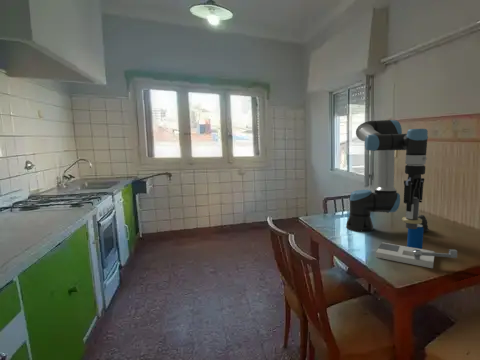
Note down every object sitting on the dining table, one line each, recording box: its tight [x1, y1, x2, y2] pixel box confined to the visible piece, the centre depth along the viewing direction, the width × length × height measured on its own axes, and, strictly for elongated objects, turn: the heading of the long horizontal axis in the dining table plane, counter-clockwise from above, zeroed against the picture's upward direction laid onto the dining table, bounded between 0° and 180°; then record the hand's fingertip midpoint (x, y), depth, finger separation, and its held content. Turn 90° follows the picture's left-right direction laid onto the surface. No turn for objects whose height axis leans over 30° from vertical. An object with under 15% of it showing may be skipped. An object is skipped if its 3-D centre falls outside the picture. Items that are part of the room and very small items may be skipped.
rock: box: [418, 214, 430, 233], centre depth 170 cm, size 12×10×10 cm
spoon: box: [413, 248, 458, 259], centre depth 123 cm, size 3×16×3 cm, turn 76°
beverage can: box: [406, 224, 424, 249], centre depth 143 cm, size 6×6×12 cm
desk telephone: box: [375, 242, 436, 269], centre depth 133 cm, size 22×15×4 cm
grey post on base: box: [401, 197, 422, 229], centre depth 129 cm, size 8×8×14 cm
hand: (412, 217), depth 129 cm, fingers closed on grey post on base, 4 cm apart
